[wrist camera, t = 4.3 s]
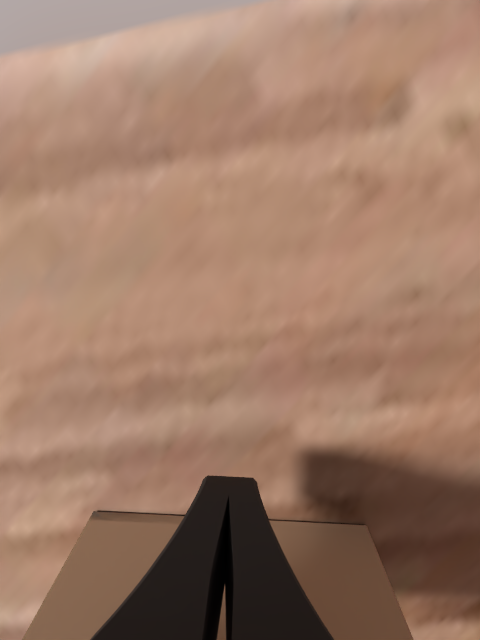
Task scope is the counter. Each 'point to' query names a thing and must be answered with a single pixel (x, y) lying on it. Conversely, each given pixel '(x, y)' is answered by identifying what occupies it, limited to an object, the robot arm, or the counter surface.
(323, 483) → the counter surface
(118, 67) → the counter surface
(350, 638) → the l-shaped bracket
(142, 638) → the robot arm
